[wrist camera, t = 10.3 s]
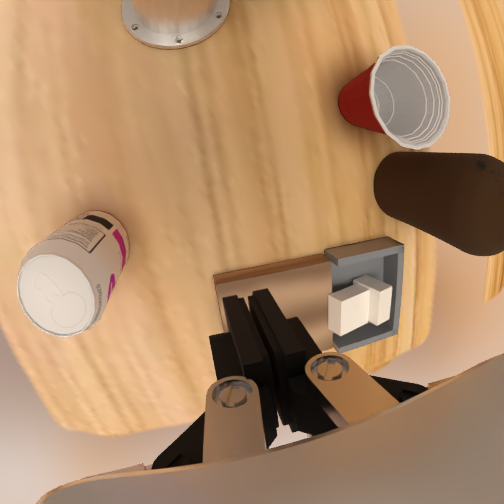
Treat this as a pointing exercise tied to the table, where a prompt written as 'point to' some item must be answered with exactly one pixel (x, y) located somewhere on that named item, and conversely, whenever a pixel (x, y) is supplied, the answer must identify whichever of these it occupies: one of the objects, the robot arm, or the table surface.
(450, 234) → the olive oil
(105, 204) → the table surface
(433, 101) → the plastic cup
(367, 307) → the tile
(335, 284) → the box
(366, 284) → the tile
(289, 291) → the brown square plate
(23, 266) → the supplement can
